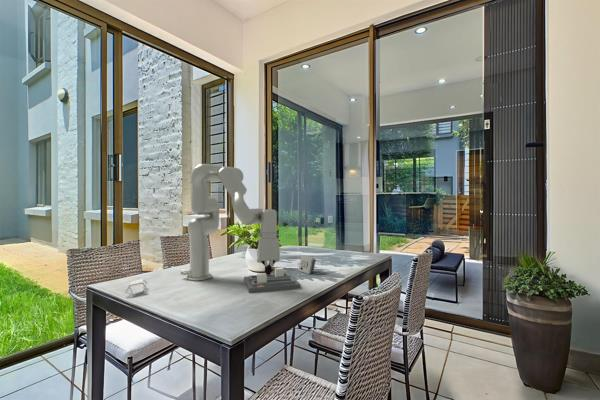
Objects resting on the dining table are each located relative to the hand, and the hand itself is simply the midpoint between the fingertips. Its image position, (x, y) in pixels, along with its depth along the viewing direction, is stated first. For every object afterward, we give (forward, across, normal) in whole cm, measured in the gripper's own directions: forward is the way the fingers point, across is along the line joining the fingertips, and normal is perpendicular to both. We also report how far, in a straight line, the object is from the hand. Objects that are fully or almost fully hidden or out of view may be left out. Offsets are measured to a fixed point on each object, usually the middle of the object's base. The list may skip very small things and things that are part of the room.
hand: (268, 274), depth 146 cm
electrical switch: (+6, +26, +22) cm, 35 cm away
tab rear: (+4, +7, +9) cm, 12 cm away
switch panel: (+6, +2, +4) cm, 8 cm away
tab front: (+4, -3, 0) cm, 5 cm away
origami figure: (+7, -57, +9) cm, 58 cm away
